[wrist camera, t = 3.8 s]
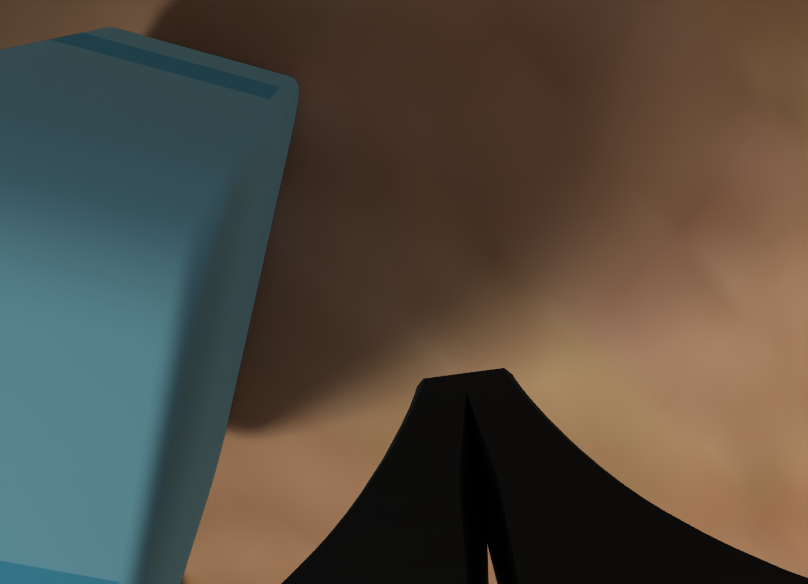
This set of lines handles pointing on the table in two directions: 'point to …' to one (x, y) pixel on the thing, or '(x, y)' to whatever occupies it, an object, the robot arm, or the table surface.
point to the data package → (125, 293)
